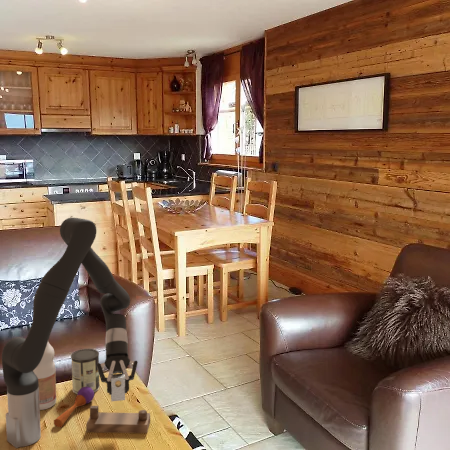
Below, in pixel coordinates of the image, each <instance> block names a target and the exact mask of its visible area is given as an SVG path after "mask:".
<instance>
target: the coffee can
mask: <svg viewBox="0 0 450 450" xmlns="http://www.w3.org/2000/svg"><path fill="white" fill-rule="evenodd" d="M70 359H71V378H72V379H71V382H72V392H73V393H74V394H76V395H77V394H78V391H79V390H80V389H81V388H82V387H86V386H87V387H90V388H92V390H93V391H94V393H95V392H97V391H99V389H100V375H99V372H98V369H97V364H98V363H100V360H99V359H100V352H99V351H98V350H97V349H93V348H83V349H82V348H81V349H78V350H75V351H74V352H72V353H71V354H70Z"/></svg>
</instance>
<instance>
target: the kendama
mask: <svg viewBox="0 0 450 450" xmlns="http://www.w3.org/2000/svg"><path fill="white" fill-rule="evenodd" d="M94 397H95V392H94V391H93V390H92V388H90V387H87V386H86V387H82V388H81V389H80V390H79V391H78V394H76V396H75V399H74V404H73V405H72V406H70V407H69V408H68V409H66V410H65V411H64V412H62V413H61V414H60V415H59V416H57V417H56V418H55V419H54V420H53V425H54V426H55V427H57V428H62V427H63V426H64V424H65V423H66V421H67V420H68V419H69V417H70V416H71V415H72V414H73V412H74V411H75V410H76V409H77V408H78V407H81V406H85V405H86V404H90V402H92V401H93V400H94Z"/></svg>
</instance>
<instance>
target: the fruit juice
mask: <svg viewBox="0 0 450 450" xmlns="http://www.w3.org/2000/svg"><path fill="white" fill-rule="evenodd" d="M54 358H55V350H54V347H53V346H52V345H51V344H50V342H49V341H48V342H47V346H46V349H45V352H44V354H43V357H42V359H41V362H40V363H39V365H38V366H37V367H36V368H35V369H34V370H33V372H34V373H35V374H36V376H37V377H38V382H39V405H40V411H41V410H47V409H50V408H51V407H53V406H55V404H56V403H57V381H56V379H57V378H56V377H57V376H56V364H55V361H54Z"/></svg>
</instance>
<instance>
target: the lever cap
mask: <svg viewBox="0 0 450 450" xmlns="http://www.w3.org/2000/svg"><path fill="white" fill-rule="evenodd" d="M111 388H112V395H110V401H111V402H119V401H120V402H121V401H125V400H126V393H125V374H122V373H116V374H112V375H111Z"/></svg>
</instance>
